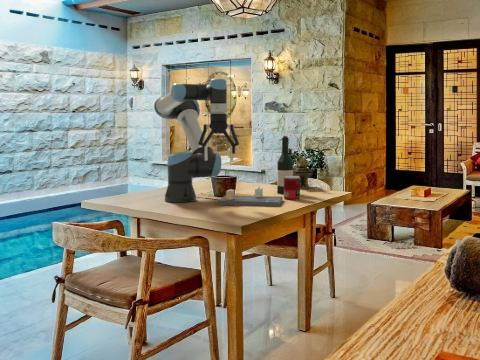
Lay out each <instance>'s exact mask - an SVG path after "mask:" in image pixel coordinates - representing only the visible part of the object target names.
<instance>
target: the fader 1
mask: <svg viewBox="0 0 480 360" xmlns="http://www.w3.org/2000/svg"><path fill="white" fill-rule="evenodd" d="M225 191H226V192H225V195H226V200H233V199H234V198H235V195H236V193H235V189H232V188H231V189H227V190H225Z"/></svg>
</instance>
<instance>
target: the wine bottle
mask: <svg viewBox="0 0 480 360" xmlns="http://www.w3.org/2000/svg"><path fill="white" fill-rule="evenodd" d="M276 164H277V167H276V168H277V169H276V171H277V172H276V173H277V178H276V179H277V180H276V183H277V186H276V189H277V191H276V193H277V195H284V176H293V166H294V162H293V160H292V158H291V156H290V154H289V137H288V135H283V136H282V137H281V155H280V156H279V158H278V160H277V163H276Z"/></svg>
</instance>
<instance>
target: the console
mask: <svg viewBox="0 0 480 360" xmlns="http://www.w3.org/2000/svg"><path fill="white" fill-rule="evenodd" d="M282 203H283V196H280V195H279V196H277V195H276V196H274V195H263V196H262V197H255V195H238V194H237V195H236V194H235V198H234V199H233V200H226V194H225V195H224V196H222V197H221V198H220V199H219V200H218V206H219V205H220V206H243V207H244V206H248V207H249V206H251V207H253V206H254V207H280V206H281V204H282Z"/></svg>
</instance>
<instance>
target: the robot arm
mask: <svg viewBox="0 0 480 360" xmlns="http://www.w3.org/2000/svg"><path fill="white" fill-rule="evenodd" d="M227 89H228V86H227V80H226V78H211V79H210V80H209V84H207V83H206V84H205V83H204V84H202V83H200V84H199V83H181V82H179V83H173V84H172V85H171V89H170V92H169V93H167V94H166V95H162V96H159V97H158V98H157V99H156V100H155V101H154V105H153V106H154V112H155V113H156V114H157V115H158V116H159V117H161V118H162V119H166V120H176V121H177V123H178V124H179V125H180V126H182V129H183V131H184V134H185V137H186V139H187V142H188V145H189V148H190V150H191V151H190V150H189V151H188V150H186V151H178V152H173V153H170V154H169V155H168V157H167V164H166V165H167V187H166V191H165V194H164V201H165V202H168V203H190V202H194V201H196V200H197V194H196V192H195V188H194V186H193V179H195V178H196V179H199V178H213V177H218V176H219V175H220V173H221V169H222V157H221V156H222V155H221V154H220V153H219V152H214V149H213V148H212V147H211V146H209V145H208V142H209V141H211V138H212V137H213V136H214V134H223V136H225V138H226V139H227V141H228V142H229V144H230V145H231V146H230V147H229V150H230V151H229V152H230V154H229V156H230V159H229V161H230V162H233V161H234V154H236V146H239V145H240V142H239V139H238V137H237V134H236V131H235V126H234V124H231V123H230V124H228V122H227V121H228V120H227V119H228V118H227V117H228V116H227V115H228V114H227V109H228V107H227V106H228V105H227V104H228V102H227V100H228V99H227V95H228V94H227V93H228V90H227ZM198 101H205V102H207V101H208V102H210V103H209V104H210V105H209V106H210V114H209V117H210V121H209V122H210V123H209V124H206V123H205V124H203V130H202V128H201V126H200V122H199V121H198V119H199V116H200V111H201V110H200V103H199V102H198ZM209 128H210V132H209V134H208V136H207V137H206V135H207V131H208V130H209ZM227 128H228V129H229V130H230V133H231V136H232V137H231V136H230V135H229V133H228V132H227ZM205 137H206V138H205ZM232 138H233V139H232Z"/></svg>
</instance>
